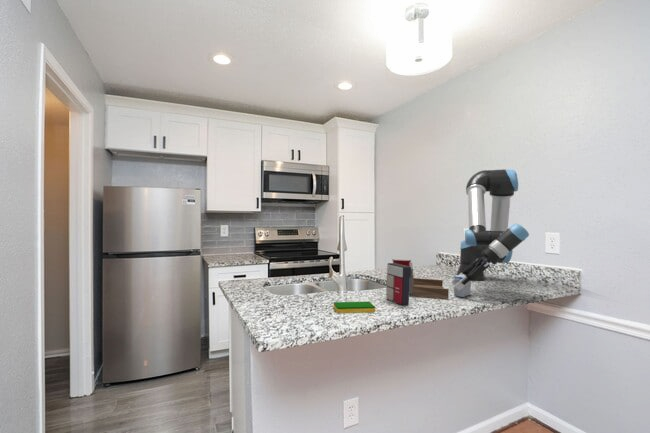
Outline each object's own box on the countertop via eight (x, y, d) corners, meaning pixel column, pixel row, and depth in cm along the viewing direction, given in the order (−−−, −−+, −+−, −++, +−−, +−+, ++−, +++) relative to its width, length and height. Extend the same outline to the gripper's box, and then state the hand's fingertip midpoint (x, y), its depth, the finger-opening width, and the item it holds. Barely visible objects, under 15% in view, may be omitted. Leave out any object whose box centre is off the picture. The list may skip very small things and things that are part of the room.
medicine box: (460, 292, 141) (461, 274, 141) (470, 294, 138) (471, 275, 138) (453, 295, 136) (454, 276, 136) (463, 297, 132) (464, 277, 133)
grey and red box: (384, 298, 128) (385, 263, 128) (393, 298, 129) (394, 262, 130) (401, 305, 118) (402, 267, 118) (410, 304, 119) (411, 266, 120)
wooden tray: (408, 285, 155) (409, 262, 155) (442, 288, 151) (442, 264, 151) (409, 295, 134) (410, 268, 134) (448, 299, 130) (448, 271, 130)
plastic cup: (409, 278, 176) (409, 257, 176) (412, 282, 165) (413, 260, 165) (390, 277, 177) (390, 257, 177) (392, 281, 166) (393, 259, 166)
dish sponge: (333, 308, 113) (333, 301, 113) (368, 307, 116) (369, 301, 116) (337, 314, 106) (337, 307, 106) (375, 313, 109) (375, 306, 109)
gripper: (509, 262, 123) (465, 298, 127) (494, 256, 143) (457, 287, 147) (494, 248, 124) (452, 284, 128) (481, 244, 145) (445, 275, 149)
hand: (454, 286), depth 138 cm, fingers closed on medicine box, 9 cm apart
